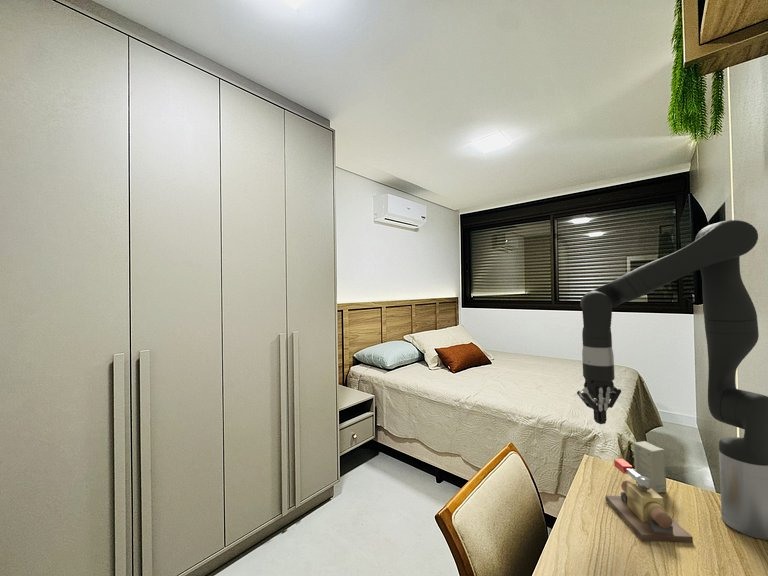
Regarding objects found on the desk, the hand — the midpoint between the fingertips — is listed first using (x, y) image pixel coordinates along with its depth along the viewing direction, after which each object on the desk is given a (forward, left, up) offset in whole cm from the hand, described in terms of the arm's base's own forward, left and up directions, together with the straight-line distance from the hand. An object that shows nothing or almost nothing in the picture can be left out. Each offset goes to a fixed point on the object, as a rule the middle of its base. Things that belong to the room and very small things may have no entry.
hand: (600, 422), depth 94 cm
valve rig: (-6, +9, -21) cm, 24 cm away
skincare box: (-17, -6, -22) cm, 28 cm away
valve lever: (-6, +4, -13) cm, 15 cm away
